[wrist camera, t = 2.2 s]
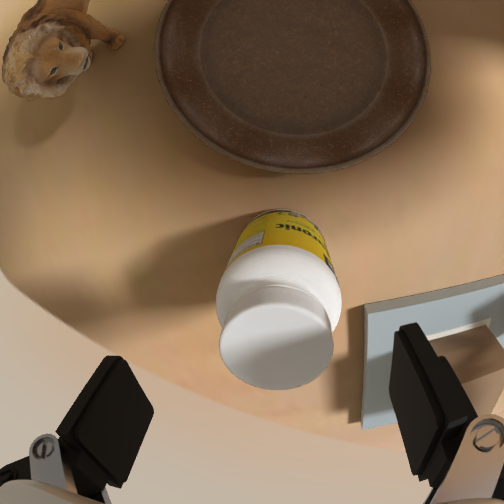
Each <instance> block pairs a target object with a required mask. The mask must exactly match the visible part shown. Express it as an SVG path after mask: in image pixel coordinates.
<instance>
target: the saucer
mask: <svg viewBox="0 0 504 504" xmlns="http://www.w3.org/2000/svg"><path fill="white" fill-rule="evenodd" d="M154 52H155V65H156V72H157V75H158V79H159V82H160V85H161V88H162V91H163V93H164V95H165V97H166V99H167V101H168V103H169V105H170V106H171V107H172V109H173V111H174V113H175V114H176V115H177V116H178V118H179V119H180V120H181V121H182V123H183V124H184V125H185V126H186V127H187V128H188V129H189V130H190V131H191V132H192V133H193V134H194V135H195V136H196V137H198V138H199V139H200V140H201V141H202V142H204V143H205V144H207V145H208V146H209V147H211V148H212V149H214V150H216V151H217V152H219V153H221V154H223V155H225V156H226V157H229V158H231V159H233V160H235V161H238V162H241V163H243V164H246V165H249V166H252V167H255V168H259V169H263V170H267V171H273V172H279V173H293V174H312V173H324V172H331V171H335V170H339V169H343V168H346V167H349V166H352V165H355V164H357V163H359V162H362V161H364V160H366V159H368V158H370V157H372V156H373V155H375V154H377V153H379V152H380V151H381V150H383V149H385V148H386V147H388V146H389V145H390V144H391V143H393V142H394V141H395V140H396V139H397V138H398V137H399V136H400V135H401V134H402V133H403V132H404V131H405V130H406V129H407V128H408V126H409V125H410V124H411V123H412V121H413V120H414V118H415V116H416V115H417V113H418V111H419V109H420V107H421V105H422V103H423V101H424V98H425V95H426V93H427V89H428V85H429V79H430V70H431V59H430V48H429V42H428V37H427V34H426V31H425V28H424V25H423V23H422V20H421V18H420V16H419V14H418V12H417V10H416V8H415V7H414V5H413V4H412V2H411V0H168V2H167V3H166V5H165V8H164V10H163V12H162V15H161V17H160V20H159V23H158V27H157V32H156V38H155V49H154Z"/></svg>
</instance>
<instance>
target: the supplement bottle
mask: <svg viewBox="0 0 504 504" xmlns="http://www.w3.org/2000/svg"><path fill="white" fill-rule="evenodd" d="M341 305H342V302H341V293H340V289H339V283H338V281H337V277H336V275H335V272H334V268H333V265H332V262H331V259H330V256H329V253H328V250H327V246H326V243H325V240H324V238H323V236H322V233H321V232H320V230H319V228H318V227H317V226H316V224H315V223H314V222H313V221H312V220H311V219H310V218H308V217H307V216H305V215H303V214H302V213H299V212H297V211H294V210H289V209H274V210H269V211H266V212H264V213H262V214H260V215H258V216H256V217H255V218H254V219H252V220H251V221H250V222H249V223H248V225H247V226H246V227H245V228H244V230H243V231H242V233H241V235H240V237H239V239H238V242H237V244H236V246H235V248H234V251H233V253H232V255H231V257H230V260H229V262H228V264H227V267H226V269H225V271H224V273H223V275H222V278H221V280H220V283H219V286H218V290H217V294H216V312H217V316H218V320H219V322H220V325H221V327H222V331H221V334H220V338H219V350H220V355H221V358H222V360H223V362H224V364H225V365H226V367H227V368H228V369H229V370H230V372H231V373H232V374H234V375H235V376H236V377H237V378H239V379H240V380H242V381H244V382H245V383H248V384H250V385H252V386H255V387H259V388H262V389H269V390H286V389H292V388H297V387H300V386H303V385H305V384H307V383H309V382H311V381H313V380H314V379H316V378H317V377H318V376H319V375H320V374H322V373H323V371H324V370H325V369H326V368H327V366H328V364H329V363H330V361H331V358H332V355H333V349H334V343H333V336H332V332H333V331H334V329H335V327H336V325H337V323H338V321H339V317H340V313H341Z"/></svg>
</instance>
